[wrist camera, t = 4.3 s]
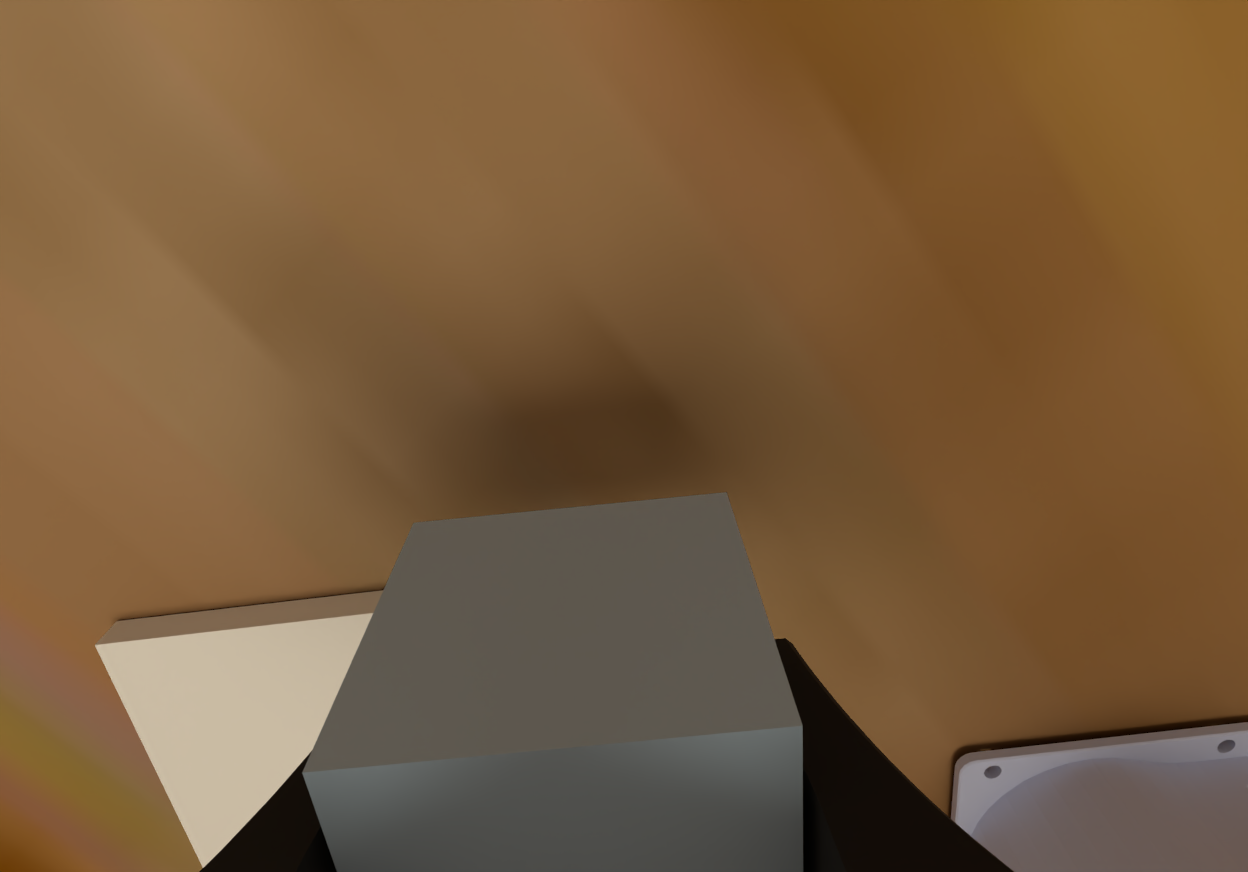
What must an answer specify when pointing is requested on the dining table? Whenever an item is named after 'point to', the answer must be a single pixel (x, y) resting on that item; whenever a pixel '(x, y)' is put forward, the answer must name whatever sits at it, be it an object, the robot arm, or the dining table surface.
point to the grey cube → (566, 702)
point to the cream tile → (233, 699)
